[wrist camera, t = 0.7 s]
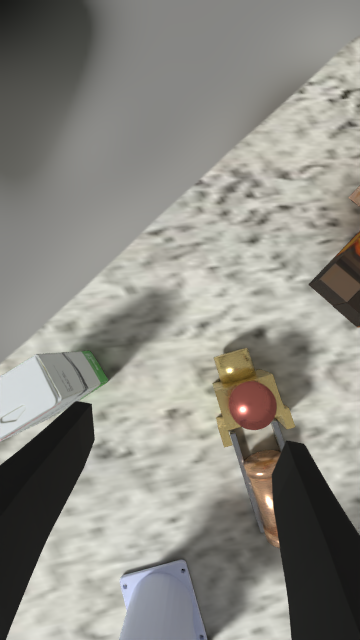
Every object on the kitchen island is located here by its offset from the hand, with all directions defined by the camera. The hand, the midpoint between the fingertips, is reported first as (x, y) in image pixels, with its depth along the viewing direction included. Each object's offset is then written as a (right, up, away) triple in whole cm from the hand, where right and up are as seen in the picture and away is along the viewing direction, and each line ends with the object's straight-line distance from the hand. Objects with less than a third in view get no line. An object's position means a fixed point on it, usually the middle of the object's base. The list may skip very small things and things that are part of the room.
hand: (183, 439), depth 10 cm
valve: (+7, -4, +23) cm, 25 cm away
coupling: (+10, -15, +22) cm, 29 cm away
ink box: (-14, -4, +25) cm, 29 cm away
